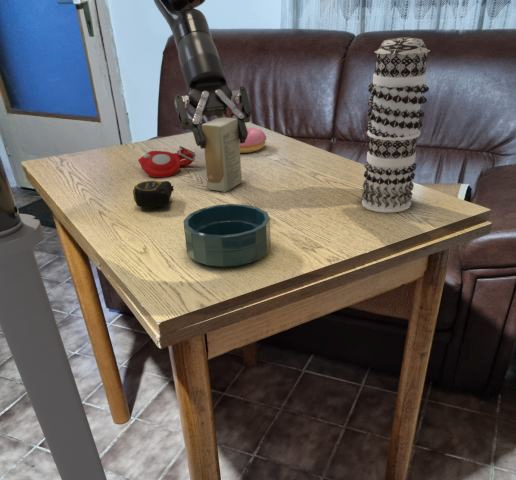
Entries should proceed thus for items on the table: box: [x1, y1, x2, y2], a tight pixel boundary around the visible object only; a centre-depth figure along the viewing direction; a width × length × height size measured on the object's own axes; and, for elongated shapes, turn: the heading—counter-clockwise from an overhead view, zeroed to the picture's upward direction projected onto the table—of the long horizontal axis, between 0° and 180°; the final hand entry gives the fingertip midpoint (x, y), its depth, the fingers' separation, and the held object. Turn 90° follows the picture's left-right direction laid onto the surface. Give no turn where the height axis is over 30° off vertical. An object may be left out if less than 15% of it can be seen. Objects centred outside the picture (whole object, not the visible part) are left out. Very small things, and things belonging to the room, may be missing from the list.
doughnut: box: [239, 127, 267, 154], centre depth 123 cm, size 11×11×4 cm
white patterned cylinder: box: [361, 37, 431, 214], centre depth 83 cm, size 9×9×25 cm
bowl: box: [183, 203, 272, 268], centre depth 76 cm, size 12×12×5 cm
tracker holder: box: [138, 145, 197, 178], centre depth 112 cm, size 12×4×10 cm
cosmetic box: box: [201, 116, 243, 193], centre depth 98 cm, size 6×4×12 cm
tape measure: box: [132, 180, 175, 209], centre depth 93 cm, size 7×7×4 cm
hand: (223, 143), depth 96 cm, fingers closed on cosmetic box, 7 cm apart
